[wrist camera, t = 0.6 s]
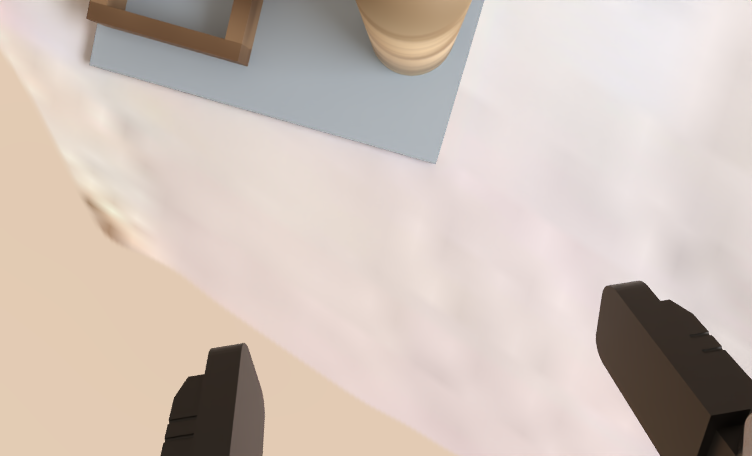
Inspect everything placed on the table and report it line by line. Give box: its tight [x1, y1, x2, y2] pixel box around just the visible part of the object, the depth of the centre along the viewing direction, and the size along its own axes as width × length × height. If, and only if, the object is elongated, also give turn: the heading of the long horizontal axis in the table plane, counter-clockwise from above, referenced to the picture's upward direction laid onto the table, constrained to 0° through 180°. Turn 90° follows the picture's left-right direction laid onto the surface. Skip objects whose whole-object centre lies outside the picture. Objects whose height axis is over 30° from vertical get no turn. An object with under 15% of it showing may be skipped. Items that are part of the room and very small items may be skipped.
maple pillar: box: [356, 0, 472, 76], centre depth 27 cm, size 5×5×12 cm
